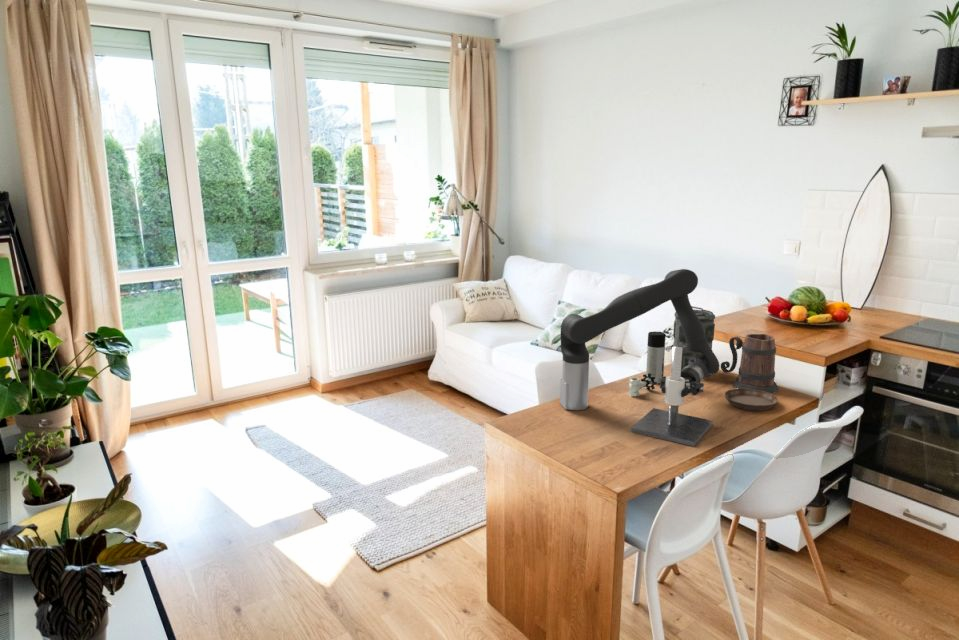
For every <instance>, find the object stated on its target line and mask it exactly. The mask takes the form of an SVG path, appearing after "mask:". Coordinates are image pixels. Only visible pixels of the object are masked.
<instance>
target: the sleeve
mask: <svg viewBox="0 0 959 640" xmlns="http://www.w3.org/2000/svg"><path fill="white" fill-rule="evenodd" d="M670 379H671V375H670V376H669V375H668V376H666V384H665V393H664V403H665V404H667V405H668V404H669V405H674V406H676V405H679V406H682V405H683V404H684V402H685V401H684V400H685V396H684V397H681V391H682V390H683V389H684V388H685V379H684V378H682V377H680V381H674V380H670ZM669 405H668V406H669Z"/></svg>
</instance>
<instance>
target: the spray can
mask: <svg viewBox="0 0 959 640" xmlns="http://www.w3.org/2000/svg"><path fill="white" fill-rule="evenodd" d="M646 345H647V347H646V348H647V350H646V353H647V354H646V372H645V374H646V375H647V374H649V373H650V374H651V377H655V379H654V382H657V385H658V384H659V383H660V381H661V379H662V377H664V374H665V373H664V369H665V356H666V355H665V351H666V333H665V332H662V331H649V332H648V333H647V344H646ZM647 376H648V375H647ZM646 380H650V381H651V379H650V378H646ZM650 384H652V382H651V383H650Z"/></svg>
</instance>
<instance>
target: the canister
mask: <svg viewBox="0 0 959 640" xmlns="http://www.w3.org/2000/svg"><path fill="white" fill-rule="evenodd" d="M691 306H692V305H691ZM692 308H693V310H694V312H695V313H696V315H697V317H698V318H699V320H700V322H701V324H702V326H703V329H704V332H705V335H706V339H707V342H708V344H709V346H710V348H711V350H712V351H713V341H714V339H715V338H714V337H715V328H716V327H715V326H716V324H715V319H716V315H715V314H714V313H713V311H710V310H707V309H703V308H702V307H698V306H692ZM674 319H675V320H674V321H673V333H672V335H673V336H672V337H673V345H672V347H673V346H681V347H682V361H681V370H682V369H683V368H684V367H686V366H688V362H689V360H690V359H691V358H694V357H700V356H704V355H703V354H702V353H700V352H693V351H690V350H689V349H688V346H687V343H686V339H685V336H684V332H683V329H682V326H681V323H680V320H679V318H678V315H677V313H676V311H675V312H674ZM708 376H709V375H707V376H706V377H708Z"/></svg>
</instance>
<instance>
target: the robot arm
mask: <svg viewBox="0 0 959 640" xmlns="http://www.w3.org/2000/svg"><path fill="white" fill-rule="evenodd" d="M698 283H699V278H698V276H697V274H696V272H694V271H692V270H690V269H688V268H680V269H676V270H671V271H669V272H667V273H666V275H665V277H664V279H663V280H661V281H659V282H656V283H653V284H650V285H645V286H641V287H639V288H635V289H632V290H630V291H628V292H625V293H623V294H621V295H619V296H617V297H615V298H614V299H613V300H612V301H611V302H609V304H608V305H607V306H606V307H605V308H604V309H602V310H600V311H598V312H596V313H593V314H591V315H589V316H586V317H585V316H584V317H583V316H582V315H580V314H577V313H571V314H567V316H565V317H564V318H563V320H562V322H561V325H560V350H561V354H562V378H561V379H560V380H559V381H560V383H559V385H560V386H559V390H560V391H559V393H560V394H559V405H561V407H563V409H564V410H568V411H569V410H570V411H582V410H586V409H588V407H589V405H588V404H589V375H590V374H589V372H590V353H589V351H588V348H587V346H586V343H588V342H590V341H592V340H593V339H595V338H596V337H598V336H600V335H602V334H603V333H605V332H607V331H609V330H611V329H613V328H615V327H618V326H620V325H622V324H623V323H624V324H625V323H626V322H628V321H629V322H630V321H631V320H635V318H638V317H640V316H642V315H644V314H645V313H648V312H651V311H652V310H654V309H656V308H657V307H659V306H661V305H663V304H664V303H667V302H669V301H671V303H672V306H673V308H674V310H675V312H676V313H677V315H678V318H679V320H680V323H681V326H682V329H683V332H684V336H685V339H686V343H687V346H688V349H689V350H690V351H693V352H700V353H702V354H703V355H704V356H700V357H694V358H691V359H690V360H689V362H688V366H686V367H684V368H683V369H682V370H681V377H682V378H684V379H685V388H684V389H683V390H682V391H681V397H684V398H685V397H686V396H688V395H691V394H692V395H693V396H697V395H698V394H700V393H702V392H704V388H705V387H704V386H705V385H704V383H703V380H704V379H706V377H708V376H711V375H715V374H717V373H718V372H719V370H720V368H721V364H720V362H719V360H718V358H717V356H716V354H715V353H714V351H713V349H712V350H711V348H710V346H709V344H708V342H707V339H706V335H705V332H704V329H703V326H702V324H701V322H700V320H699V318H698V317H697V315H696V313H695V312H694V310H695V309H694V308H692V305H691V302H690V298H689V294H691V293H692V292H694V291H695V290H696V288H697V286H698ZM707 375H708V376H707ZM666 378H667V376H664V375H663V377H662V379H661V381H660V386H659V388H660V390H661V392H662V394H665V384H666Z"/></svg>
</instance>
